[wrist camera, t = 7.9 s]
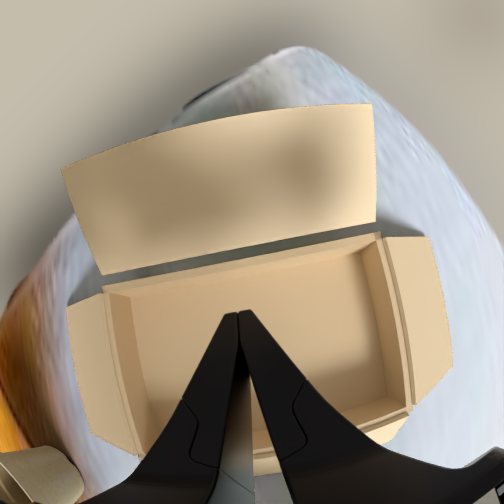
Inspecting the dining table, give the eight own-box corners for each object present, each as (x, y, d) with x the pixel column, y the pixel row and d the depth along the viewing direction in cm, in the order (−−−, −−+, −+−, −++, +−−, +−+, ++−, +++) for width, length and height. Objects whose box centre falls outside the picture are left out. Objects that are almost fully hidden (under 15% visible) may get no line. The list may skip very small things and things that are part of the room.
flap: (375, 221, 15) (371, 103, 12) (102, 275, 15) (60, 169, 12) (371, 218, 16) (367, 103, 12) (104, 271, 16) (65, 166, 12)
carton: (452, 407, 16) (479, 417, 12) (108, 471, 15) (87, 489, 12) (424, 231, 20) (449, 215, 16) (67, 301, 19) (38, 296, 16)
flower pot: (18, 433, 16) (-34, 449, 7) (63, 424, 17) (-1, 448, 8) (61, 503, 14) (20, 532, 5) (116, 505, 14) (73, 549, 6)
